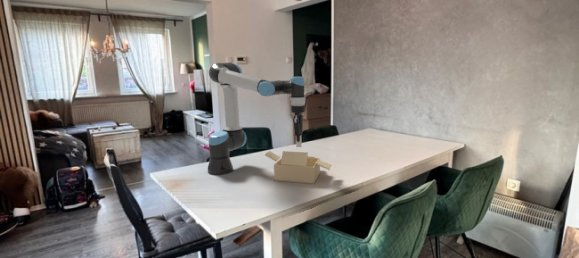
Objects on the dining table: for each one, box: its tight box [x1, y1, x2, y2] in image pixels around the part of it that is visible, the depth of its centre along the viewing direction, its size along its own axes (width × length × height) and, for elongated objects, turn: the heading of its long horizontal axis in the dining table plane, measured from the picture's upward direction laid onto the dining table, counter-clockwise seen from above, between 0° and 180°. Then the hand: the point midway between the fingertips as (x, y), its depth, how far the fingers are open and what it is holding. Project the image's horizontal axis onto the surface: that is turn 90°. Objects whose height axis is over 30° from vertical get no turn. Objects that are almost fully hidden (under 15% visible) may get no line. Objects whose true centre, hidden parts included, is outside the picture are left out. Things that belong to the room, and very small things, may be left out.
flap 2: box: [280, 150, 309, 166], centre depth 168 cm, size 14×8×1 cm
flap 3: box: [316, 159, 333, 171], centre depth 172 cm, size 8×8×1 cm
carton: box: [273, 157, 321, 185], centre depth 176 cm, size 22×18×9 cm
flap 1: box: [264, 150, 281, 162], centre depth 179 cm, size 8×8×1 cm
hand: (298, 146), depth 176 cm, fingers closed
